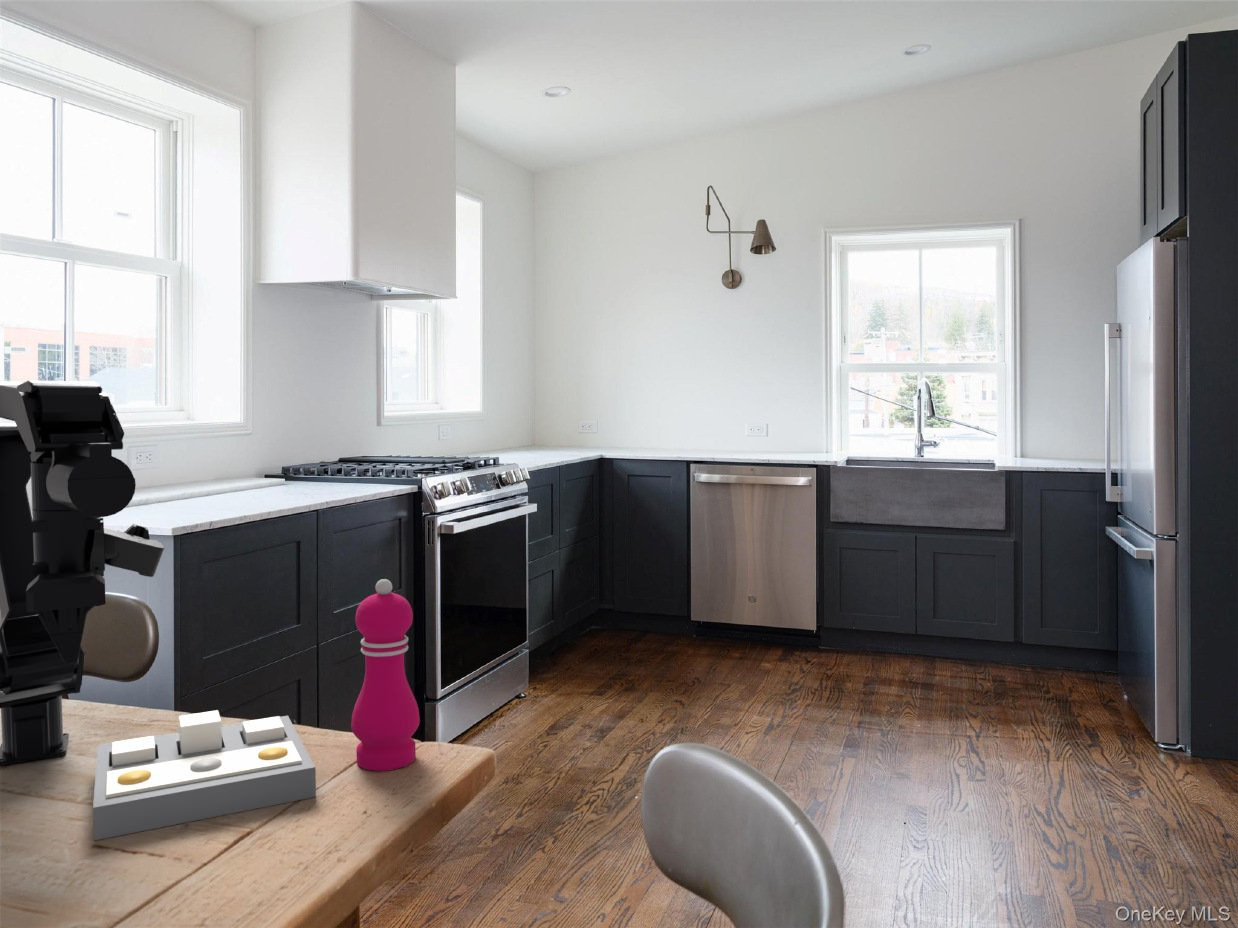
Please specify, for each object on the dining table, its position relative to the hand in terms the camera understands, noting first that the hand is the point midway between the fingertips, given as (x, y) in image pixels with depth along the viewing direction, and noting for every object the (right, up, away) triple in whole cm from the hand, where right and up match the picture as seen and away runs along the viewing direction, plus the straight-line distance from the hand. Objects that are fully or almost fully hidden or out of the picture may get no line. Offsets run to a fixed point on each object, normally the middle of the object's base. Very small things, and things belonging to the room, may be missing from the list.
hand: (71, 661), depth 91 cm
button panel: (+13, -13, +2) cm, 18 cm away
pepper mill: (+30, -13, +8) cm, 33 cm away
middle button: (+11, -10, +4) cm, 15 cm away
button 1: (+6, -12, +2) cm, 13 cm away
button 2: (+16, -12, +8) cm, 21 cm away
